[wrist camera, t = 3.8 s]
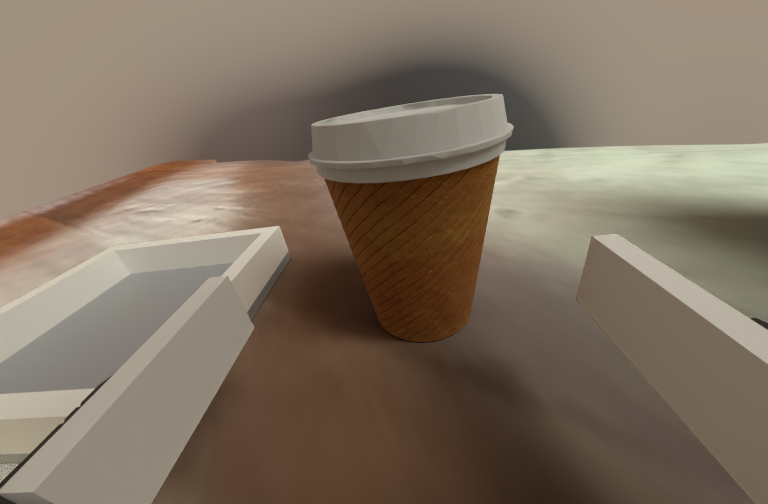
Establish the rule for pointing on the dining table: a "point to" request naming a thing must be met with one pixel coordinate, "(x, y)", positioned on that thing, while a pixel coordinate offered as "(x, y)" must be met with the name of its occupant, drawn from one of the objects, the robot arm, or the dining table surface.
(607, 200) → the dining table surface
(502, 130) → the disposable coffee cup
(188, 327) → the robot arm
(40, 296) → the square well
